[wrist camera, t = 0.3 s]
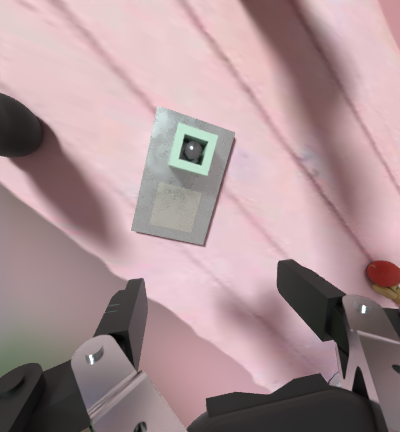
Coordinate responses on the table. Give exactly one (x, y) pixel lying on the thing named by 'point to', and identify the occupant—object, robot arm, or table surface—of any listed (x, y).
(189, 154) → the stand
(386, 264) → the kendama
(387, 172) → the table surface
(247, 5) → the table surface
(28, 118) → the cola bottle
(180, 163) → the mint square sleeve
